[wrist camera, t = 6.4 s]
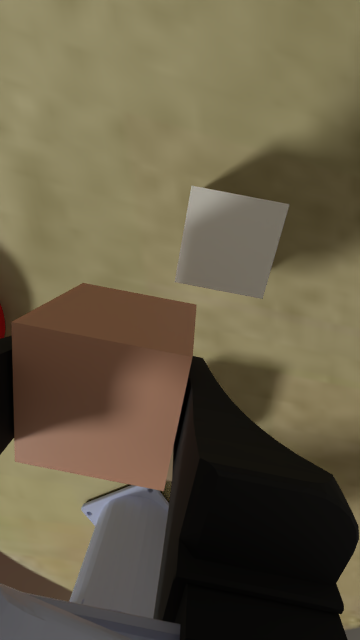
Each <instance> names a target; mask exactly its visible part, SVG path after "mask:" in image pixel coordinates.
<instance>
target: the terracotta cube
mask: <svg viewBox="0 0 360 640" xmlns="http://www.w3.org/2000/svg"><path fill="white" fill-rule="evenodd" d="M195 317H196V305H195V304H190V303H185V302H180V301H174V300H169V299H164V298H159V297H154V296H148V295H143V294H138V293H133V292H127V291H122V290H117V289H112V288H107V287H101V286H96V285H91V284H86V283H82V284H80V285H79V286H77V287H75V288H73V289H71V290H69V291H68V292H66V293H64V294H62V295H60V296H58V297H56V298H55V299H53V300H51V301H49V302H47V303H45V304H44V305H42V306H40V307H38V308H36V309H34V310H32V311H31V312H29V313H27V314H25V315H23V316H21V317H19V318H18V319H16V320H14V321H12V322H11V325H12V364H13V402H14V441H15V462H19V463H24V464H29V465H34V466H39V467H44V468H50V469H55V470H60V471H65V472H70V473H75V474H80V475H85V476H90V477H95V478H100V479H105V480H110V481H115V482H120V483H125V484H130V485H135V486H140V487H145V488H150V489H155V490H160V491H164V488H165V483H166V478H167V474H168V469H169V464H170V460H171V455H172V450H173V446H174V441H175V436H176V432H177V427H178V422H179V418H180V413H181V408H182V404H183V399H184V394H185V390H186V385H187V380H188V376H189V371H190V366H191V362H192V357H193V344H194V330H195Z"/></svg>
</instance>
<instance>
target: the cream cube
mask: <svg viewBox="0 0 360 640" xmlns="http://www.w3.org/2000/svg"><path fill="white" fill-rule="evenodd" d="M288 208H289V204H286V203H281V202H275V201H270V200H265V199H259V198H254V197H249V196H244V195H238V194H233V193H228V192H222V191H217V190H212V189H207V188H201V187H196V186H191V192H190V198H189V204H188V209H187V215H186V221H185V226H184V232H183V238H182V244H181V249H180V255H179V261H178V266H177V272H176V278H175V282H178V283H183V284H188V285H193V286H198V287H204V288H209V289H214V290H219V291H224V292H230V293H235V294H240V295H245V296H250V297H256V298H261V299H263V295H264V292H265V288H266V285H267V281H268V278H269V274H270V271H271V267H272V264H273V260H274V257H275V253H276V250H277V246H278V243H279V239H280V236H281V232H282V229H283V225H284V222H285V218H286V215H287V211H288Z"/></svg>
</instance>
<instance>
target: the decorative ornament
mask: <svg viewBox="0 0 360 640" xmlns="http://www.w3.org/2000/svg"><path fill="white" fill-rule="evenodd" d="M4 335H5V319H4V314H3V310H2V307H1V304H0V339H1V338H4Z"/></svg>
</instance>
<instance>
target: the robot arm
mask: <svg viewBox="0 0 360 640" xmlns="http://www.w3.org/2000/svg"><path fill="white" fill-rule="evenodd" d="M13 438H14V402H13V364H12V336H9V337H5V338H1V339H0V454H1V453H2V452H3V451H4V449H5V448H6V447H7V445H8V444H9V443H10V442H11V441H12V439H13ZM81 510H82V511H83V513H84V514H85V515H86V516H87V517H88V518H89V519H90V521H91V522H92V523H93V524H94V525H95V529H94V532H93V535H92V538H91V541H90V543H89V546H88V549H87V552H86V555H85V558H84V561H83V564H82V566H81V569H80V572H79V575H78V578H77V581H76V584H75V587H74V589H73V592H72V595H71V598H70V601H69V602H68V601H63V600H59V599H53V598H48V597H44V596H39V595H34V594H29V593H24V592H21V591H18V590H16V589H14V588H11V587H8V586H6V585H3V584H1V583H0V640H347V637H346V634H345V631H344V628H343V625H342V622H341V619H340V617H339V614H342V612H343V611H344V605H343V601H342V598H341V596H340V593H339V590H338V587H337V585H336V582H337V581H338V579H339V577H340V575H341V574H342V572H343V570H344V569H345V567H346V565H347V563H348V562H349V560H350V558H351V556H352V555H353V553H354V551H355V548H356V545H357V543H358V540H359V530H358V524H357V522H356V520H355V517H354V515H353V513H352V511H351V509H350V507H349V505H348V503H347V501H346V499H345V497H344V495H343V493H342V491H341V489H340V487H339V485H338V484H337V482H336V480H335V479H334V477H333V475H332V474H330V473H328V472H327V471H325V470H323V469H321V468H320V467H318V466H316V465H314V464H313V463H311V462H309V461H307V460H306V459H304V458H302V457H301V456H299V455H297V454H296V453H294V452H293V451H291V450H290V449H288V448H287V447H285V446H284V445H282V444H281V443H279V442H278V441H276V440H275V439H274V438H272V437H271V436H270V435H268V434H267V433H266V432H265V431H263V430H262V429H261V428H260V427H259V426H257V425H256V424H255V423H254V422H253V421H251V420H250V419H249V418H248V417H247V416H246V415H245V414H244V413H243V412H242V411H241V410H240V409H239V408H238V407H237V406H236V405H235V404H234V403H233V402H232V400H231V399H230V398H229V397H228V396H227V394H226V393H225V392H224V391H223V389H222V388H221V387H220V385H219V384H218V382H217V381H216V379H215V378H214V376H213V375H212V373H211V371H210V370H209V368H208V366H207V364H206V363H205V361H204V359H203V358H200V357H195V356H193V357H192V362H191V366H190V371H189V376H188V380H187V385H186V390H185V394H184V399H183V404H182V408H181V413H180V418H179V422H178V427H177V432H176V436H175V441H174V446H173V472H172V486H171V494H170V501H169V503H168V501H167V500H166V499H165V497H164V496H163V495H162V494H161V492H160V491H159V490H155V489H150V488H145V487H140V486H135V485H131V486H128V487H125V488H123V489H120V490H118V491H115V492H113V493H110V494H107V495H105V496H102V497H100V498H97V499H94V500H92V501H89V502H87V503H84V504H83V506H82V508H81Z"/></svg>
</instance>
